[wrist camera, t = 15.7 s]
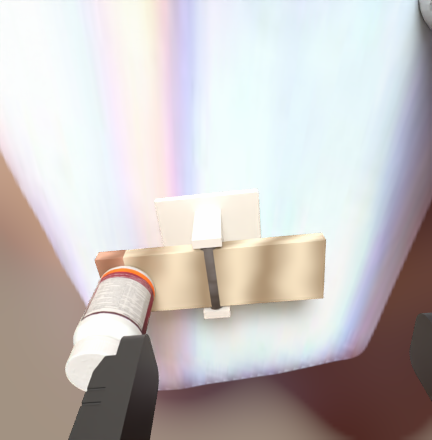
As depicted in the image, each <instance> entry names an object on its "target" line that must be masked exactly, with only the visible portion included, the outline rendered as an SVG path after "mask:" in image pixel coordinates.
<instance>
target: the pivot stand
mask: <svg viewBox="0 0 432 440" xmlns="http://www.w3.org/2000/svg"><path fill="white" fill-rule="evenodd" d="M154 203H155V208H156V212H157V217H158V222H159V227H160V231H161V236H162V241H163V246H164V247H167V246H178V245H189V244H192V246H193V249H200V248H210V247H221V246H222V242H223V241H235V240H246V239H257V238H261V229H260V212H259V194H258V189H248V190H238V191H228V192H218V193H208V194H198V195H187V196H177V197H167V198H157V199H155V202H154ZM203 313H204V319H212V318H224V317H231V316H230V306H223V307H222V308H220V309H216V310H215V309H211V308H210V307H204V311H203Z"/></svg>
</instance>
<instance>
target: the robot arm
mask: <svg viewBox="0 0 432 440" xmlns="http://www.w3.org/2000/svg"><path fill="white" fill-rule="evenodd" d="M419 3H420V10H421V13H422V16H423V18H424V21H425V22H426V23H427V25H428V26H429V27H430V29H431V30H432V0H419ZM410 360H411V364H412V367H413V369H414V371H415V373H416V375H417V377H418V378H419V380H420V382H421V384H422V385H423V387H424V389H425V390H426V392H427V394H428V395H429V397H430V399H431V401H432V313H422V314H419V315H418V316H417V318H416V322H415V327H414V332H413V336H412V341H411V346H410ZM158 384H159V375H158V367H157V363H156V360H155V356H154V353H153V349H152V345H151V342H150V338H149V336H148V335H147V334H144V335H132V336H123V337H122V338H121V340H120V343H119V346H118V349H117V353H116V355H109V356H105V357H104V358H103V359H102V361H101V362H100V363H99V364H98V366H97V367H96V368H95V369H94V371H93V373H92V376H91V378H90V381H89V384H88V387H87V392H85V395H84V398H83V400H82V406H81V407H80V409H79V412H78V414H77V417H76V420H75V423H74V425H73V428H72V431H71V434H70V436H69V439H68V440H150V435H151V429H152V423H153V417H154V411H155V405H156V399H157V392H158Z"/></svg>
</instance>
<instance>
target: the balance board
mask: <svg viewBox="0 0 432 440" xmlns="http://www.w3.org/2000/svg"><path fill="white" fill-rule="evenodd" d="M325 249H326V239H325V238H324V236H323V234H322V233H314V234H302V235H291V236H280V237H268V238H257V239H246V240H235V241H223V242H222V246H221V247H210V248H200V249H193V246H192V244H189V245H178V246H167V247H156V248H144V249H133V250H119V251H107V252H99V253H98V255H97V257H96V259H95V263H96V266H97V269H98V272H99V275H100V278H101V277H102V276H103V274H104V273H105V272H107V271H108V270H110V269H112V268H115V267H119V266H130V267H135V268H137V269H139V270H141V271H143V272H144V273H146V274H147V275H148V276H149V277H150V278H151V280H152V281H153V284H154V287H155V297H154V301H153V305H152V309H151V312H153V311H166V310H179V309H191V308H204V307H210V308H211V309H215V310H216V309H220V308H222V307H223V306H230V305H243V304H255V303H268V302H281V301H294V300H307V299H320V298H323V292H324V271H325Z"/></svg>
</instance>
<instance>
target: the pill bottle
mask: <svg viewBox="0 0 432 440" xmlns="http://www.w3.org/2000/svg"><path fill="white" fill-rule="evenodd" d="M154 297H155V287H154V284H153V281H152V280H151V278H150V277H149V276H148V275H147V274H146V273H144V272H143V271H141V270H139V269H137V268H135V267H130V266H119V267H115V268H112V269H110V270H108V271H107V272H105V273H104V274H103V276H102V277H101V278H100V280H99V282H98V285H97V287H96V289H95V291H94V293H93V295H92V297H91V299H90V301H89V303H88V306H87V308H86V310H85V312H84V314H83V316H82V318H81V320H80V322H79V324H78V326H77V328H76V330H75V333H74V337H73V344H74V348H73V349H72V352H71V355H70V357H69V359H68V361H67V364H66V368H65V372H66V375H67V377H68V379H69V381H70V382H71V383H72V384H73V385H75V386H76V387H77V388H79V389H81V390H83V391H85V392H87V387H88V384H89V381H90V378H91V376H92V373H93V371H94V369H95V368H96V367H97V366H98V364H99V363H100V362H101V361H102V359H103V358H104V357H105V356H109V355H116V353H117V349H118V346H119V343H120V340H121V338H122V337H123V336H132V335H144V334H146V329H147V325H148V322H149V317H150V313H151V309H152V305H153V301H154Z"/></svg>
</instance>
